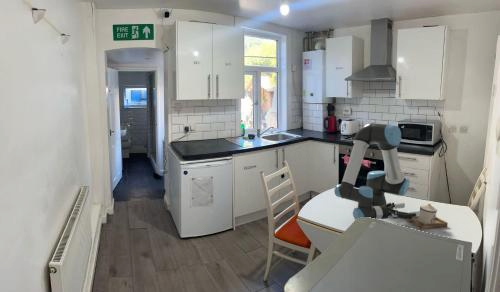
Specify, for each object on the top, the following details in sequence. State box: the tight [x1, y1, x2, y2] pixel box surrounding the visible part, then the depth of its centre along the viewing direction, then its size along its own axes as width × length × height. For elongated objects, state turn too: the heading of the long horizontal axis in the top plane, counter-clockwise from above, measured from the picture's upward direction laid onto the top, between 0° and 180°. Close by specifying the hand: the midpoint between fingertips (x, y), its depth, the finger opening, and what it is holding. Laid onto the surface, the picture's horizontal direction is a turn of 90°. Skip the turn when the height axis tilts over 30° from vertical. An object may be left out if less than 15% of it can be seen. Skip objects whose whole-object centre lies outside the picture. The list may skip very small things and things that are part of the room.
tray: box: [404, 216, 448, 230], centre depth 210 cm, size 17×17×2 cm
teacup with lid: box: [418, 203, 438, 225], centre depth 207 cm, size 12×9×12 cm
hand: (411, 209), depth 207 cm, fingers open, 13 cm apart
